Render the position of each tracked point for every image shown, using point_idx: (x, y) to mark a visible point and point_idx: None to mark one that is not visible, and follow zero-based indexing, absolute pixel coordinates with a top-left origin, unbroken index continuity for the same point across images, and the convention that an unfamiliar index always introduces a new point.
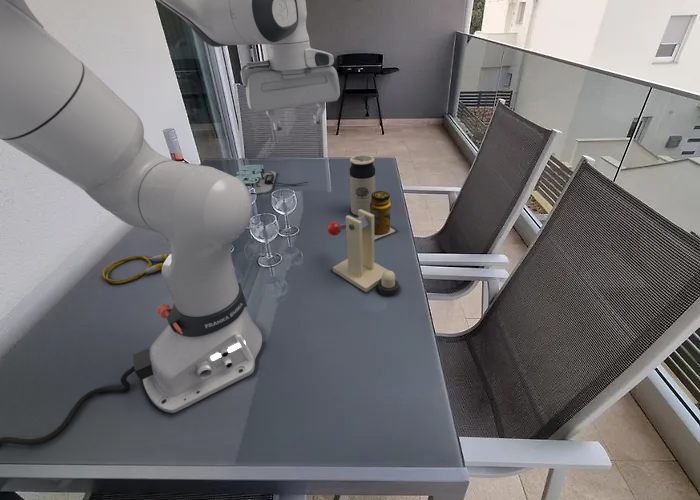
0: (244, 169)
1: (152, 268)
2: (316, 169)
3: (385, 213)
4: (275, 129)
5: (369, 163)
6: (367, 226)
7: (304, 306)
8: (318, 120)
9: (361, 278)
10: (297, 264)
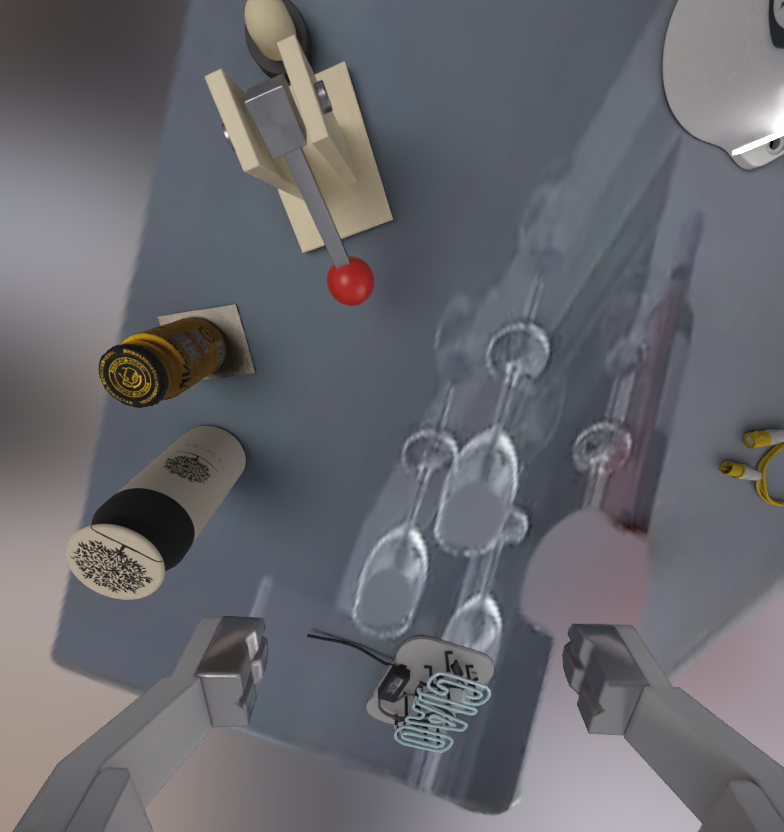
0: (443, 736)
1: (778, 435)
2: (264, 686)
3: (155, 329)
4: (635, 635)
5: (96, 524)
6: None
7: (520, 101)
8: (224, 638)
9: (338, 118)
10: (465, 298)
